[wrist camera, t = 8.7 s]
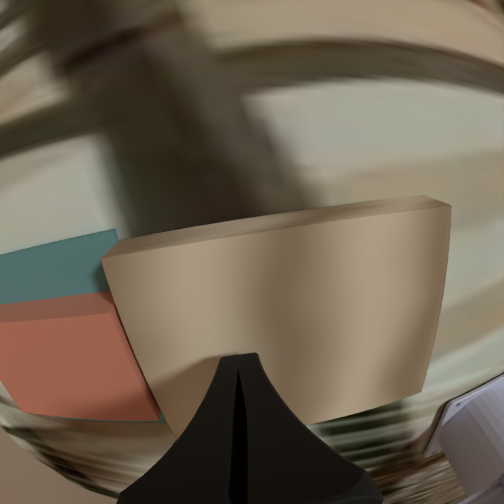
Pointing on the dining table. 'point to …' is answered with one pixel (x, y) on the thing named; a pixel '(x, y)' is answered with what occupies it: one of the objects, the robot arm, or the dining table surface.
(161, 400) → the block
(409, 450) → the dining table surface
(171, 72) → the dining table surface
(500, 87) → the dining table surface
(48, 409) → the pink rubber eraser
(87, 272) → the mat
